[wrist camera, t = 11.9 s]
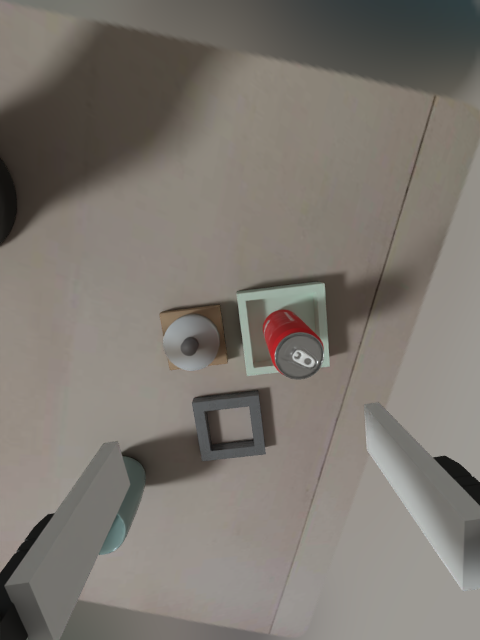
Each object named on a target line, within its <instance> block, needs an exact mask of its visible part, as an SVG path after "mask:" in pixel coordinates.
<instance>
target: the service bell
mask: <svg viewBox="0 0 480 640" xmlns="http://www.w3.org/2000/svg"><path fill="white" fill-rule="evenodd" d="M160 320H161V325H162V331H163V336H164V339H163V348H164V351H165V354H166V356H167V358H168V363H169V368H170V370H176V369H184V370H190V371H194V370H200V369H203V368H205V367H206V366H210V365H219V364H227V362H228V357H227V350H226V343H225V336H224V329H223V322H222V315H221V307H220V305H213V306H204V307H196V308H188V309H180V310H172V311H164V312H161V313H160Z"/></svg>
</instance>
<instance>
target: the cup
mask: <svg viewBox="0 0 480 640" xmlns="http://www.w3.org/2000/svg"><path fill="white" fill-rule="evenodd" d="M122 457H123V461H124V464H125V468H126V471H127V474H128V478H129V481H130V486H129V489H128V491H127V493H126V495H125V497H124V500H123V502H122V504H121V506H120V508H119V511H118V513H117V515H116V517H115V519H114V521H113V524H112V526H111V528H110V530H109V532H108V535H107V537H106V539H105V541H104V543H103V546H102V548H101V550H100V552H99V554H98V555H104V554H108V553H111V552H113V551H115V550H116V549H117V548H119V547H120V546H121V544H122V543H123V542H124V540H125V538H126V536H127V534H128V532H129V530H130V527H131V525H132V522H133V520H134V517H135V515H136V512H137V510H138V507H139V504H140V501H141V498H142V495H143V492H144V488H145V480H146V476H145V471H144V468H143V466H142V465H141V464H140V463H139V462H138V461H137V460H135V459H133V458H130V457H125V456H122Z"/></svg>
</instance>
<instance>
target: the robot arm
mask: <svg viewBox="0 0 480 640" xmlns="http://www.w3.org/2000/svg"><path fill="white" fill-rule="evenodd" d="M15 215H16V193H15V188H14V184H13V181H12V179H11V176H10V174H9V172H8V170H7V168H6V166H5V164H4V163H3V161H2V160H1V159H0V243H1V242H3V240H4V239H5V238H6V237H7V235H8V234H9V232H10V230H11V228H12V226H13V223H14V220H15ZM364 411H365V427H366V443H367V451H368V452H369V454H370V455H371V456H372V458H373V459H374V461H375V462H376V464H377V465H378V467H379V468H380V470H381V471H382V473H383V474H384V476H385V477H386V479H387V480H388V482H389V483H390V485H391V486H392V487H393V489H394V490H395V492H396V493H397V495H398V496H399V498H400V499H401V501H402V502H403V504H404V505H405V507H406V508H407V510H408V511H409V513H410V514H411V516H412V517H413V519H414V520H415V521H416V523H417V524H418V526H419V527H420V529H421V530H422V532H423V533H424V535H425V536H426V538H427V539H428V541H429V542H430V544H431V545H432V547H433V548H434V550H435V551H436V552H437V554H438V555H439V557H440V558H441V560H442V561H443V563H444V564H445V566H446V567H447V569H448V570H449V572H450V573H451V574H452V576H453V578H454V579H455V581H456V582H457V583H458V585H459V586H460V588H461V589H462V591H467V590H475V589H480V482H479V481H478V480H476V478H474V477H472V476H471V474H470V473H469V472H468V471H467V470H466V469H465V468H464V467H462V466H461V465H460V464H459V463H457V462H455V461H454V460H452V459H450V458H448V457H447V456H440V457H432V456H431V455H430V454H429V453H428V452H427V451H426V450H425V449H424V448H423V447H422V446H421V445H420V444H419V443H418V442H417V441H416V440H415V439H414V438H413V437H412V436H411V435H410V434H409V433H408V432H407V431H406V430H405V429H404V428H403V427H402V426H401V425H400V424H399V423H398V421H397V420H396V419H394V418H393V416H392V415H391V414H390V413H389V412H388V411H387V410H386V409H385V408H384V407H383V406H382V405H381V404H380V403H379V402H377V403H370V404H364ZM129 486H130V481H129V478H128V474H127V471H126V468H125V464H124V461H123V457H122V454H121V450H120V447H119V443H118V441H116V442H109V443H104V444H103V445H102V447H101V448H100V449H99V451H98V452H97V454H96V455H95V457H94V458H93V459H92V461H91V462H90V464H89V465H88V467H87V468H86V469H85V471H84V472H83V474H82V475H81V477H80V478H79V480H78V481H77V482H76V484H75V485H74V487H73V488H72V490H71V491H70V492H69V494H68V495H67V497H66V498H65V500H64V501H63V502H62V504H61V505H60V507H59V508H58V510H57V511H56V512H55V513H54V514H48V515H47V516H46V517H44V518H43V519H42V520H41V521H40V522H39V523H38V524H37V525H36V526H35V527H34V528H33V529H32V531H31V532H30V533H29V535H28V536H27V538H26V539H25V542H23V543H22V544H21V546H20V547H19V548H18V550H17V553H16V554H14V555H13V556H12V558H11V559H10V561H9V562H8V563H7V565H6V566H5V567H4V569H3V570H2V571H1V573H0V640H26V639H27V637H28V639H29V640H60V637H61V635H62V633H63V631H64V629H65V627H66V624H67V622H68V620H69V618H70V616H71V613H72V611H73V609H74V607H75V605H76V602H77V600H78V598H79V596H80V594H81V592H82V589H83V587H84V585H85V583H86V581H87V578H88V576H89V574H90V572H91V570H92V567H93V565H94V563H95V561H96V559H97V557H98V554H99V552H100V550H101V548H102V546H103V543H104V541H105V539H106V537H107V535H108V532H109V530H110V528H111V526H112V524H113V521H114V519H115V517H116V515H117V513H118V511H119V508H120V506H121V504H122V502H123V500H124V497H125V495H126V493H127V491H128V489H129Z"/></svg>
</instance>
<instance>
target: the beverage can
mask: <svg viewBox="0 0 480 640" xmlns="http://www.w3.org/2000/svg"><path fill="white" fill-rule="evenodd" d="M263 334H264V338H265V341H266V344H267V347H268V350H269V353H270V356H271V359H272V362H273V364H274V366H275V368H276V369H277V370H278V371H279V372H280V373H281V374H283V375H285V376H286V377H289V378H291V379H305V378H308V377H310V376H312V375H314V374H315V373H316V372H317V371H318V370H319V369H320V367H321V366H322V363H323V360H324V346H323V342H322V341H321V339H320V338H319V336H318V335H317V334H316V333H315V332H314V331H313V330H312V329H310V328H309V327H308V326H307V325H306V324H305V323H304V322H303V321H302V320H301V319H300V318H299V317H298V316H297V315H296V314H295V313H293V312H291V311H289V310H277V311H274V312H273V313H271V314H270V315H269V316H268V317H267V318H266V320H265V321H264V324H263Z"/></svg>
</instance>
